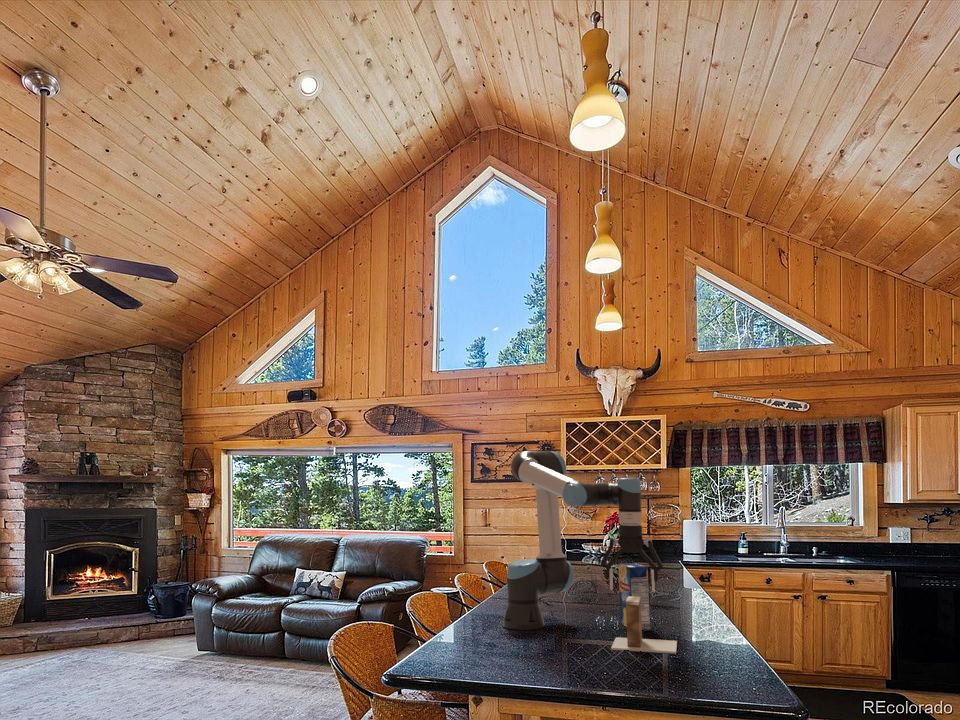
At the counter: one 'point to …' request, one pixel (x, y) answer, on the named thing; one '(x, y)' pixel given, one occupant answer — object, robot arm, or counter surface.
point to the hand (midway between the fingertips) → (632, 590)
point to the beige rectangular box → (634, 621)
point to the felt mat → (647, 645)
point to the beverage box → (634, 590)
